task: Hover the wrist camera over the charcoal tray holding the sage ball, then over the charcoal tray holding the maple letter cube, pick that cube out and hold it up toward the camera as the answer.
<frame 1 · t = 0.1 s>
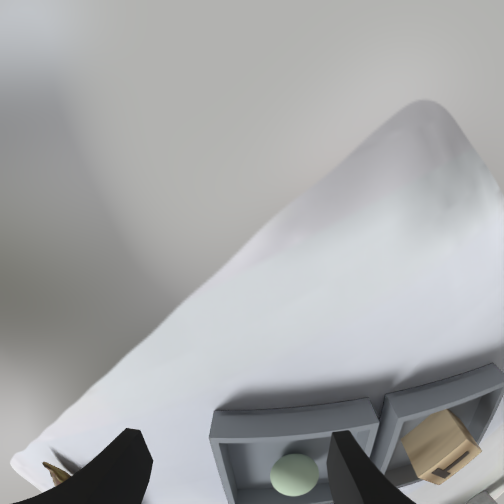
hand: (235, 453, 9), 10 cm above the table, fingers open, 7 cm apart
letter cube: (432, 429, 21), point 1 cm above the table, touching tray
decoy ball: (293, 458, 21), point 1 cm above the table, touching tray
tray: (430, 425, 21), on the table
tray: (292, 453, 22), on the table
house plant: (478, 497, 28), on the table
ceramic sculpture: (103, 490, 26), on the table
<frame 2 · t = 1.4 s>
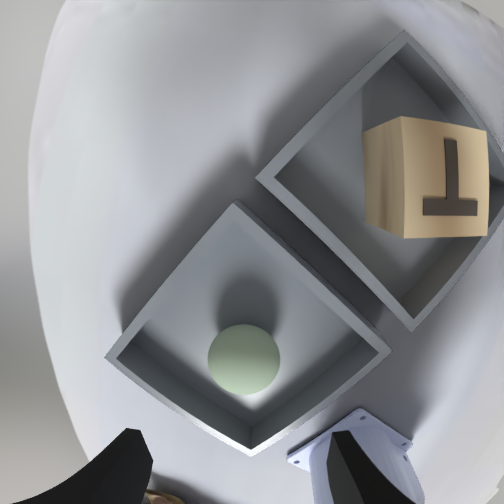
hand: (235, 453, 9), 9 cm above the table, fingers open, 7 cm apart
letter cube: (403, 178, 15), point 1 cm above the table, touching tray
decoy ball: (245, 341, 18), point 1 cm above the table, touching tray
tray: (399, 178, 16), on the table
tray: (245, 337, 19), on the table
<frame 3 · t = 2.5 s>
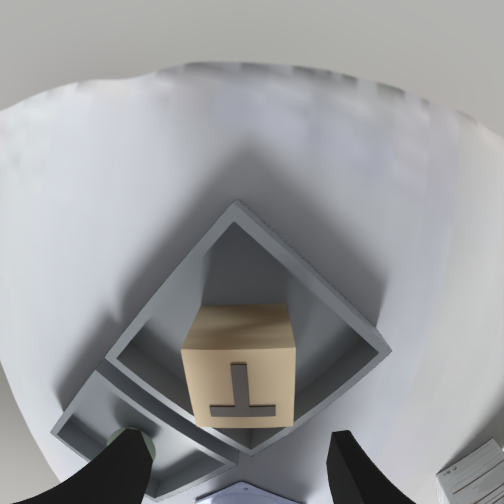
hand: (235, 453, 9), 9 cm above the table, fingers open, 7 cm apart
letter cube: (245, 341, 18), point 1 cm above the table, touching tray
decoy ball: (138, 434, 20), point 1 cm above the table, touching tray
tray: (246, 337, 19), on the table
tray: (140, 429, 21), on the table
supplement box: (464, 468, 23), on the table
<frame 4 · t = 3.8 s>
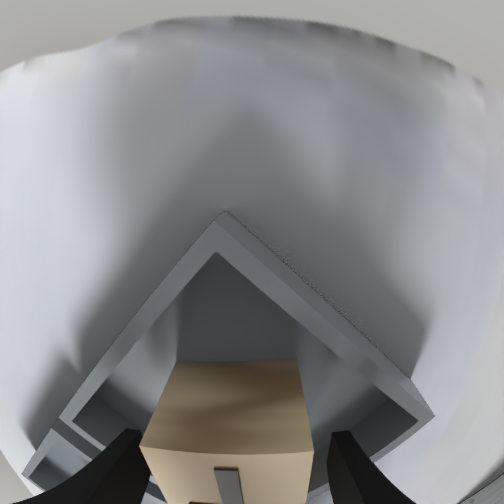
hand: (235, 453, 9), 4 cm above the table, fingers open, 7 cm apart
letter cube: (239, 405, 12), point 1 cm above the table, touching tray
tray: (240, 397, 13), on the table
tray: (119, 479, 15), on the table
supplement box: (479, 497, 18), on the table
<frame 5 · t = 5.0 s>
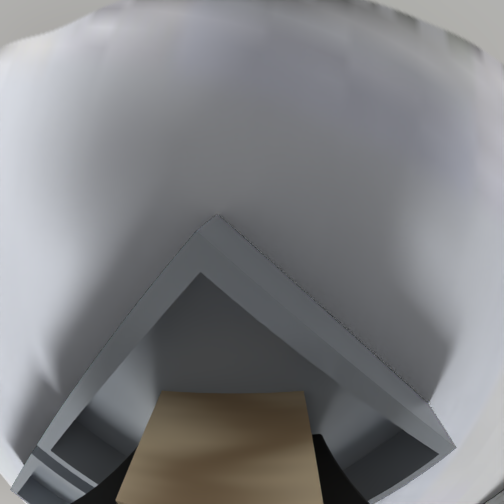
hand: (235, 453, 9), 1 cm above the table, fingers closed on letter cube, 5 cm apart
letter cube: (236, 438, 10), point 1 cm above the table, touching gripper, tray
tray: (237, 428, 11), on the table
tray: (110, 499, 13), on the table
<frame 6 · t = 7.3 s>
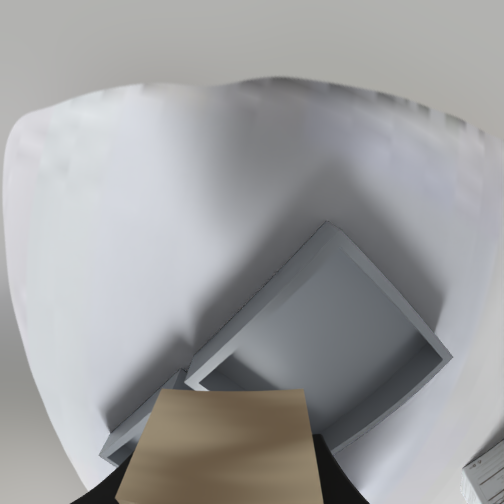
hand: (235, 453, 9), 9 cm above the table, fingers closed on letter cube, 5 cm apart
letter cube: (236, 437, 10), point 9 cm above the table, touching gripper
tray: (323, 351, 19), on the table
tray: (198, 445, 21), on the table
supplement box: (485, 462, 24), on the table
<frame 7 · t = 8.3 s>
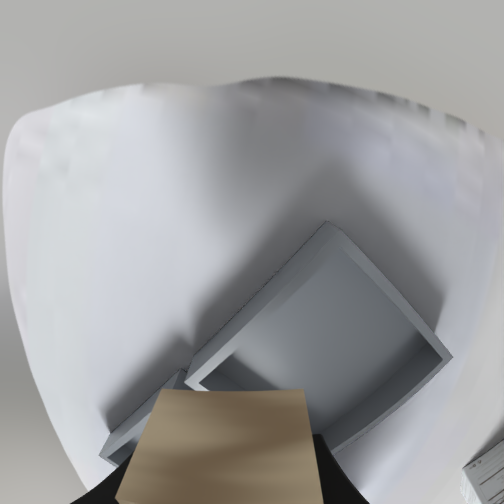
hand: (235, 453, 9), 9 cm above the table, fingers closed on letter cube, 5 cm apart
letter cube: (236, 437, 10), point 9 cm above the table, touching gripper
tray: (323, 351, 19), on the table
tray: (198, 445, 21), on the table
supplement box: (485, 462, 24), on the table
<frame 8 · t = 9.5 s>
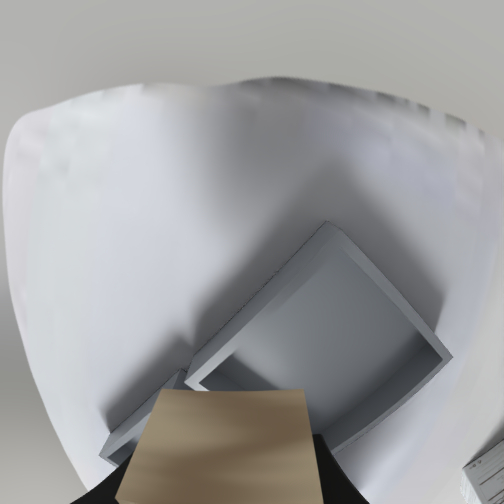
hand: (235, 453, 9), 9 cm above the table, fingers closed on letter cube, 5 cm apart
letter cube: (236, 437, 10), point 9 cm above the table, touching gripper
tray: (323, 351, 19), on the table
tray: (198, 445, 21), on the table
supplement box: (485, 462, 24), on the table
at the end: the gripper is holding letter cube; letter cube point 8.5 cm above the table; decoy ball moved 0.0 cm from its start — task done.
